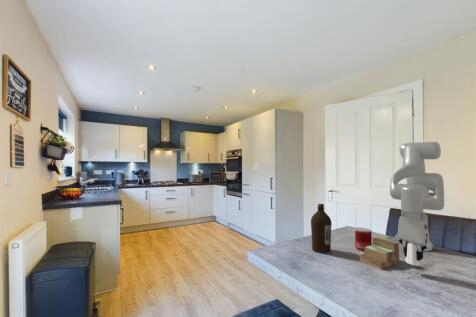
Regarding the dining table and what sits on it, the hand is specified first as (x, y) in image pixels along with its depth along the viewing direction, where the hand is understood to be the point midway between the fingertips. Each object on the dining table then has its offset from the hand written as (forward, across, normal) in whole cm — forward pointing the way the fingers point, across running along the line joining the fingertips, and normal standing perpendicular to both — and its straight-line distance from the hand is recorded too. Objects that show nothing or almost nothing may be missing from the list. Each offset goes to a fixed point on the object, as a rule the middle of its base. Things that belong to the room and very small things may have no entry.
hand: (413, 257), depth 97 cm
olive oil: (+7, +38, +13) cm, 40 cm away
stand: (+7, +14, +1) cm, 15 cm away
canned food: (+8, +28, -9) cm, 30 cm away
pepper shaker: (+3, 0, 0) cm, 3 cm away
